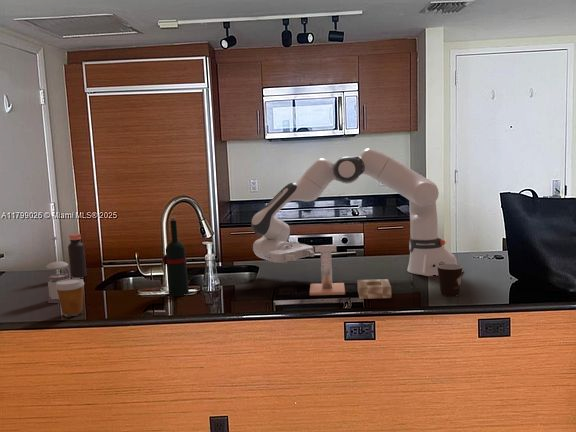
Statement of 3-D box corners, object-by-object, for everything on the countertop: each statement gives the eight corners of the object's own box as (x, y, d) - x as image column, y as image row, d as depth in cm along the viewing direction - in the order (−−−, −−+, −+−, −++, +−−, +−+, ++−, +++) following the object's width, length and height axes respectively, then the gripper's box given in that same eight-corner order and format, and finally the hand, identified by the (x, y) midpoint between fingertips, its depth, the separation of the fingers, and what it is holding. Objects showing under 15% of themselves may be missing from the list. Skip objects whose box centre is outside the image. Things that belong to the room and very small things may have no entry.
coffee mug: (448, 298, 186) (447, 270, 185) (432, 293, 194) (432, 265, 193) (474, 293, 191) (474, 266, 189) (458, 288, 199) (458, 261, 197)
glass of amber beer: (91, 310, 193) (88, 277, 192) (80, 318, 184) (77, 284, 182) (65, 311, 194) (62, 278, 192) (53, 319, 184) (49, 285, 183)
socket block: (387, 289, 202) (387, 279, 201) (391, 297, 191) (391, 286, 190) (357, 290, 203) (357, 280, 202) (359, 298, 191) (359, 287, 191)
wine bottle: (165, 291, 214) (159, 216, 210) (190, 290, 214) (185, 215, 210) (160, 297, 206) (154, 219, 203) (186, 295, 206) (181, 218, 202)
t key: (337, 285, 206) (336, 244, 204) (337, 288, 202) (336, 246, 200) (316, 286, 207) (315, 245, 205) (316, 289, 203) (314, 247, 201)
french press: (41, 304, 205) (34, 239, 201) (58, 295, 216) (52, 234, 213) (65, 303, 203) (58, 238, 200) (81, 295, 215) (75, 233, 211)
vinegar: (76, 280, 241) (72, 236, 239) (68, 278, 245) (63, 235, 243) (90, 276, 247) (85, 233, 244) (81, 275, 251) (77, 232, 248)
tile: (343, 285, 211) (343, 282, 211) (345, 294, 198) (345, 291, 198) (310, 286, 212) (310, 283, 212) (309, 295, 199) (309, 292, 199)
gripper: (261, 248, 215) (284, 252, 205) (299, 241, 229) (322, 244, 218) (262, 263, 216) (285, 268, 206) (300, 255, 229) (323, 259, 219)
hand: (304, 256), depth 212 cm, fingers open, 8 cm apart
